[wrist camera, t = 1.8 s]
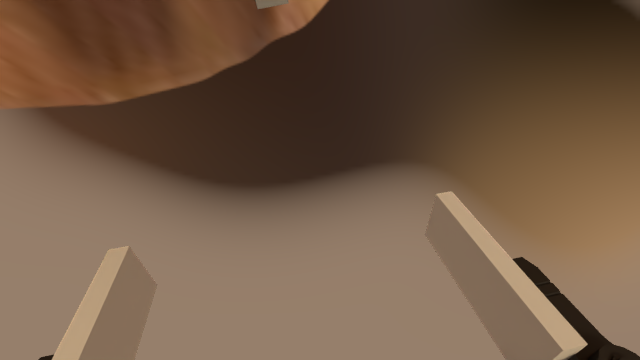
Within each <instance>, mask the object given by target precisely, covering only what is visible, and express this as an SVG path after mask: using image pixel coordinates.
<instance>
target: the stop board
mask: <svg viewBox="0 0 640 360" xmlns="http://www.w3.org/2000/svg"><path fill="white" fill-rule="evenodd" d="M255 2H256V5H257V8H258V9H261V8H267V7H272V6H277V5H282V4H287V3H288V0H255Z"/></svg>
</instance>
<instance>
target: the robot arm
mask: <svg viewBox="0 0 640 360" xmlns="http://www.w3.org/2000/svg"><path fill="white" fill-rule="evenodd" d="M425 235H426V237H427V238H428V240H429V242H430V243H431V245H432V246H433V248H434V249H435V251H436V252H437V254H438V256H439V257H440V259H441V260H442V262H443V263H444V265H445V266H446V268H447V270H448V271H449V273H450V274H451V276H452V277H453V279H454V280H455V282H456V283H457V285H458V287H459V288H460V290H461V291H462V293H463V294H464V296H465V297H466V299H467V300H468V302H469V304H470V305H471V307H472V308H473V310H474V311H475V313H476V314H477V316H478V317H479V319H480V321H481V322H482V324H483V325H484V327H485V328H486V330H487V331H488V333H489V334H490V336H491V338H492V339H493V341H494V342H495V344H496V345H497V347H498V348H499V350H500V352H501V353H502V355H503V356H504V358H505V359H506V360H640V357H639V356H638V355H637V354H635V353H633V352H631V351H629V350H627V349H625V348H623V347H620V346H616V345H614V344H612V343H611V342H609V341H608V340H607V339H606V338H604V336H602V335H601V334H600V333H599V332H598V330H597V329H596V328H595V327H594V326H593V325H592V324H591V323H590V322H589V321H588V320H587V319H586V318H585V317H584V316H583V315H582V314H581V313H580V312H579V310H578V309H577V308H575V306H574V305H573V304H572V303H571V302H570V301H569V300H568V299H567V298H566V297H565V296H564V295H563V294H561V293H560V291H559V289H558V288H557V287H556V286H555V285H554V284H553V283H550V280H549V279H548V278H547V277H546V276H545V275H544V274H543V273H542V272H541V271H540V270H539V269H538V267H536V266H534V265H533V264H532V263H530V262H529V261H527V260H525V259H524V258H523V257H520V258H515V259H511V257H510V256H509V255H508V254H507V253H506V252H505V251H504V250H503V248H502V247H501V246H500V245H499V244H498V243H497V242H496V241H495V240H494V238H493V237H492V236H491V235H490V234H489V233H488V232H487V231H486V229H485V228H484V227H483V226H482V225H481V224H480V223H479V222H478V221H477V219H475V217H474V216H473V215H472V214H471V213H470V212H469V210H468V209H467V208H466V207H465V206H464V205H463V204H462V202H461V201H460V200H459V199H458V198H457V197H456V196H455V195H454V193H453V192H445V193H439V194H436V196H435V200H434V204H433V207H432V211H431V214H430V218H429V222H428V225H427V229H426V233H425ZM156 287H157V284H156V282H155V281H154V280H153V278H152V277H151V275H150V274H149V273H148V271H147V270H146V269H145V267H144V266H143V264H142V263H141V262H140V260H139V259H138V258H137V256H136V255H135V253H134V252H133V251H132V249H131V248H130V247H129V246H126V247H120V248H114V249H109V250H108V252H107V254H106V256H105V258H104V259H103V261H102V263H101V265H100V267H99V269H98V271H97V273H96V275H95V277H94V279H93V281H92V283H91V285H90V286H89V288H88V290H87V293H86V294H85V296H84V298H83V300H82V302H81V304H80V306H79V308H78V310H77V312H76V314H75V316H74V318H73V320H72V321H71V323H70V325H69V327H68V329H67V331H66V333H65V335H64V337H63V339H62V341H61V343H60V345H59V347H58V349H57V351H56V352H55V354H54V355H50V356H45V357H41V358H40V359H39V360H134V359H135V356H136V353H137V350H138V346H139V343H140V340H141V337H142V333H143V330H144V327H145V323H146V320H147V317H148V313H149V310H150V307H151V304H152V300H153V297H154V294H155V290H156Z"/></svg>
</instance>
